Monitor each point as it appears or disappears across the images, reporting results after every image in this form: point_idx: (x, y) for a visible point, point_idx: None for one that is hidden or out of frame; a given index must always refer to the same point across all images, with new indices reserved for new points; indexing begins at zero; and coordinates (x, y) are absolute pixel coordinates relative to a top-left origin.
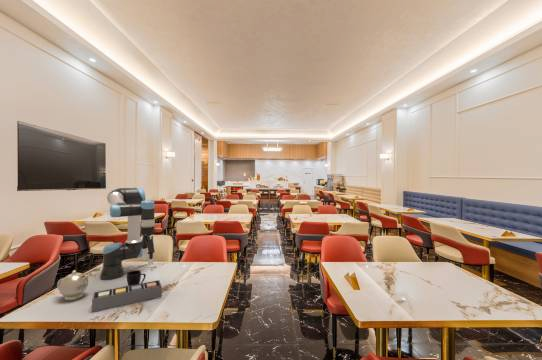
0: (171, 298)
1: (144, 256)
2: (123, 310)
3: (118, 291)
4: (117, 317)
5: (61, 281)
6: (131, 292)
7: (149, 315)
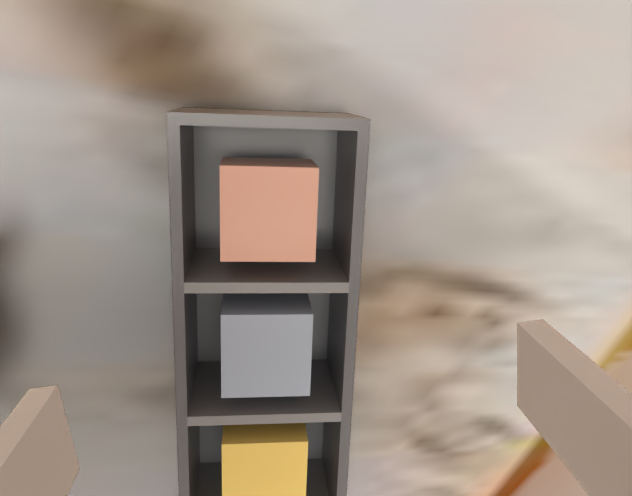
0: (430, 34)
1: (48, 483)
2: (415, 393)
3: (286, 494)
4: (496, 423)
5: None
6: (351, 393)
7: (608, 243)
